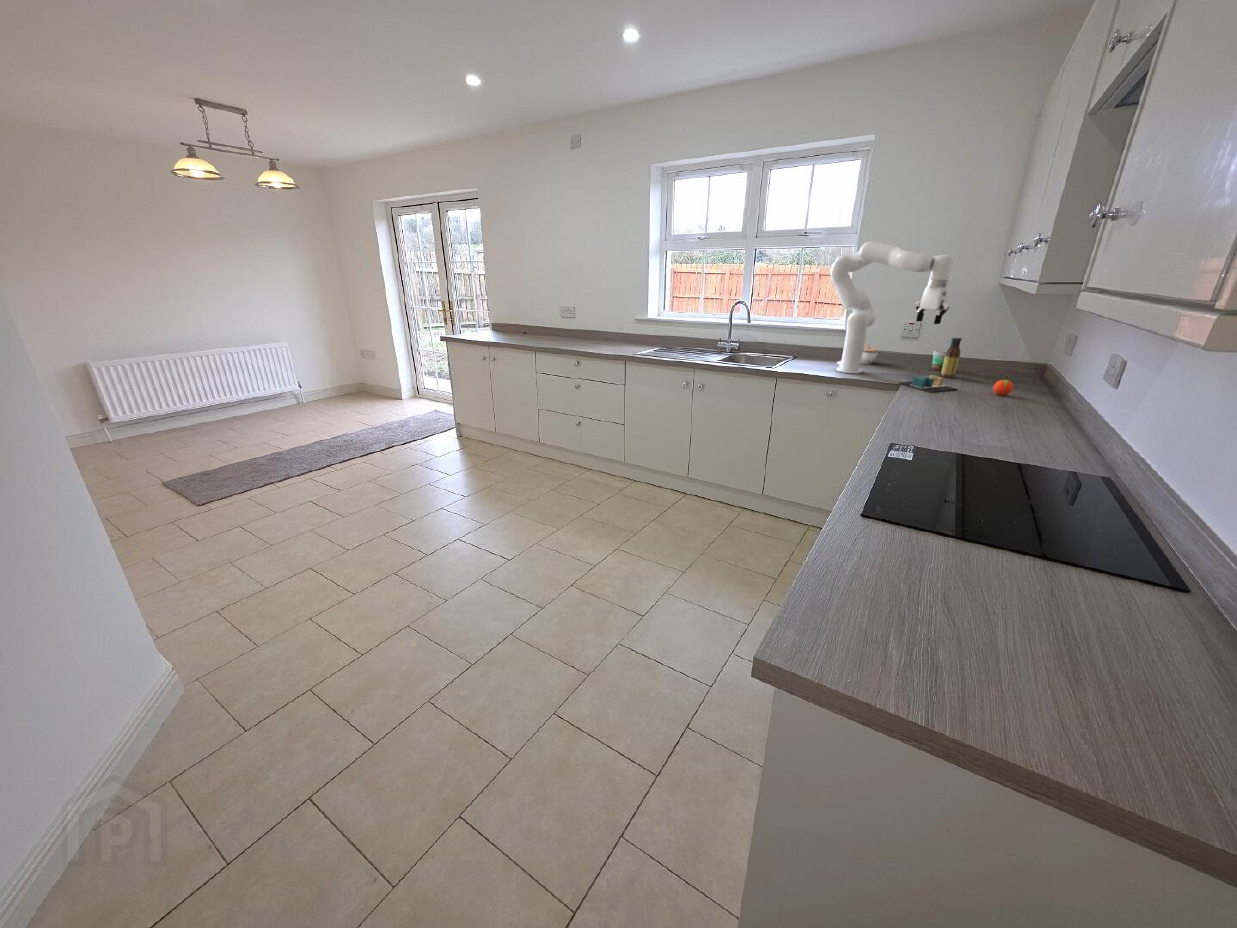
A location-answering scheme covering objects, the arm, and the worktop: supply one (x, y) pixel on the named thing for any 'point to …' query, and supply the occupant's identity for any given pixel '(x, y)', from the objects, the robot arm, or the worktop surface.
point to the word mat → (930, 389)
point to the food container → (938, 360)
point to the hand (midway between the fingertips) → (927, 322)
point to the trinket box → (869, 355)
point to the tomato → (1003, 387)
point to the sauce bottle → (951, 358)
